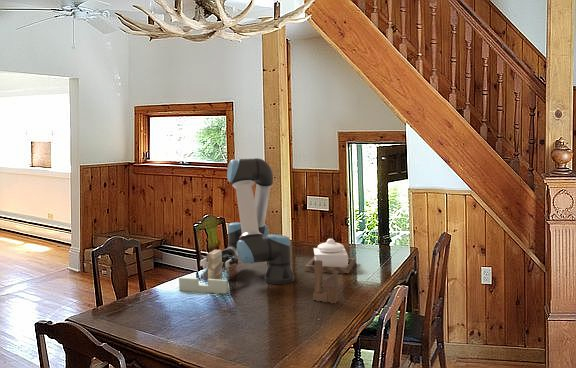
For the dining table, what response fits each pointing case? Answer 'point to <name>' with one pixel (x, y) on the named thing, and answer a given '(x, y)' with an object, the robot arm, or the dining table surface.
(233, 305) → the dining table surface
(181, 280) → the notched rail
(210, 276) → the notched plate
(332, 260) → the butter dish
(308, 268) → the dish tray rim
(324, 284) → the wooden block
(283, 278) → the robot arm
